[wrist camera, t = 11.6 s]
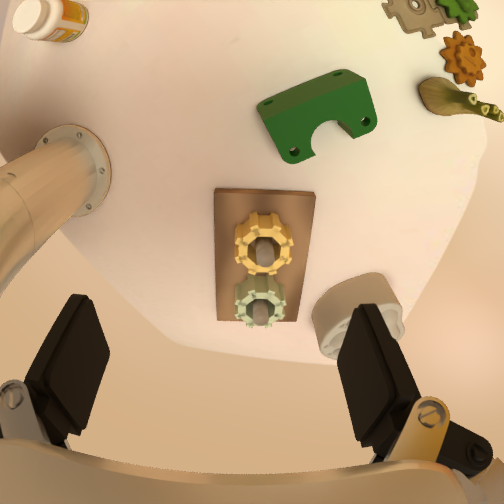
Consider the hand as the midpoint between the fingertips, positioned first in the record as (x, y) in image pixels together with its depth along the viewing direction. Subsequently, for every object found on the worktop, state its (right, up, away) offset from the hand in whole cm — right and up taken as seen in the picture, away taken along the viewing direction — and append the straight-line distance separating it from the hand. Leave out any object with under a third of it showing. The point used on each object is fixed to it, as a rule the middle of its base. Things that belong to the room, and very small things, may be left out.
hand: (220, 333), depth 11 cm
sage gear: (+2, -3, +33) cm, 33 cm away
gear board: (+2, +2, +32) cm, 32 cm away
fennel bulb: (+24, +23, +20) cm, 39 cm away
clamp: (+8, +19, +22) cm, 30 cm away
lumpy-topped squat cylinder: (+17, -5, +37) cm, 41 cm away
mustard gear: (+2, +5, +28) cm, 29 cm away
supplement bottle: (-21, +31, +14) cm, 40 cm away
